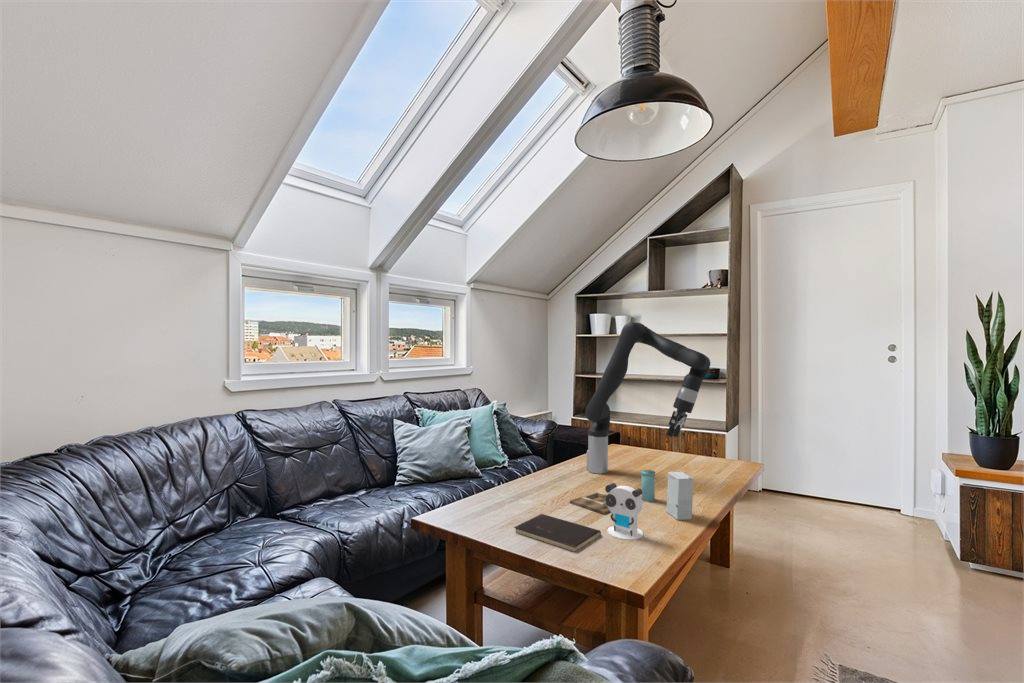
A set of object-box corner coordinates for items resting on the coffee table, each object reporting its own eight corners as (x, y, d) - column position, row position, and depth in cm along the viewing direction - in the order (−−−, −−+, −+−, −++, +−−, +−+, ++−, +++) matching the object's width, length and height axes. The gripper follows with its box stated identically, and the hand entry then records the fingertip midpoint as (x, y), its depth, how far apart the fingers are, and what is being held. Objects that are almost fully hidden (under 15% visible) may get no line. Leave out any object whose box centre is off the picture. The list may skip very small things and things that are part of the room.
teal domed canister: (638, 499, 187) (638, 471, 187) (645, 496, 191) (645, 469, 191) (650, 503, 183) (650, 474, 183) (657, 499, 187) (657, 471, 187)
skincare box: (666, 512, 173) (666, 471, 173) (681, 511, 174) (681, 470, 174) (677, 520, 165) (678, 478, 165) (693, 519, 166) (693, 477, 166)
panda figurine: (599, 532, 155) (599, 486, 155) (616, 522, 163) (616, 479, 163) (633, 543, 147) (633, 494, 147) (649, 532, 155) (649, 486, 155)
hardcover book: (574, 554, 140) (574, 546, 140) (514, 534, 155) (514, 527, 155) (600, 537, 153) (600, 529, 153) (542, 519, 167) (542, 513, 167)
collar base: (569, 503, 183) (569, 497, 183) (595, 494, 193) (595, 488, 193) (603, 514, 171) (603, 507, 171) (629, 504, 182) (629, 497, 182)
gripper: (681, 397, 204) (668, 433, 204) (672, 394, 192) (658, 432, 192) (698, 404, 199) (685, 440, 200) (690, 401, 188) (676, 440, 188)
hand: (672, 436), depth 196 cm, fingers open, 8 cm apart
